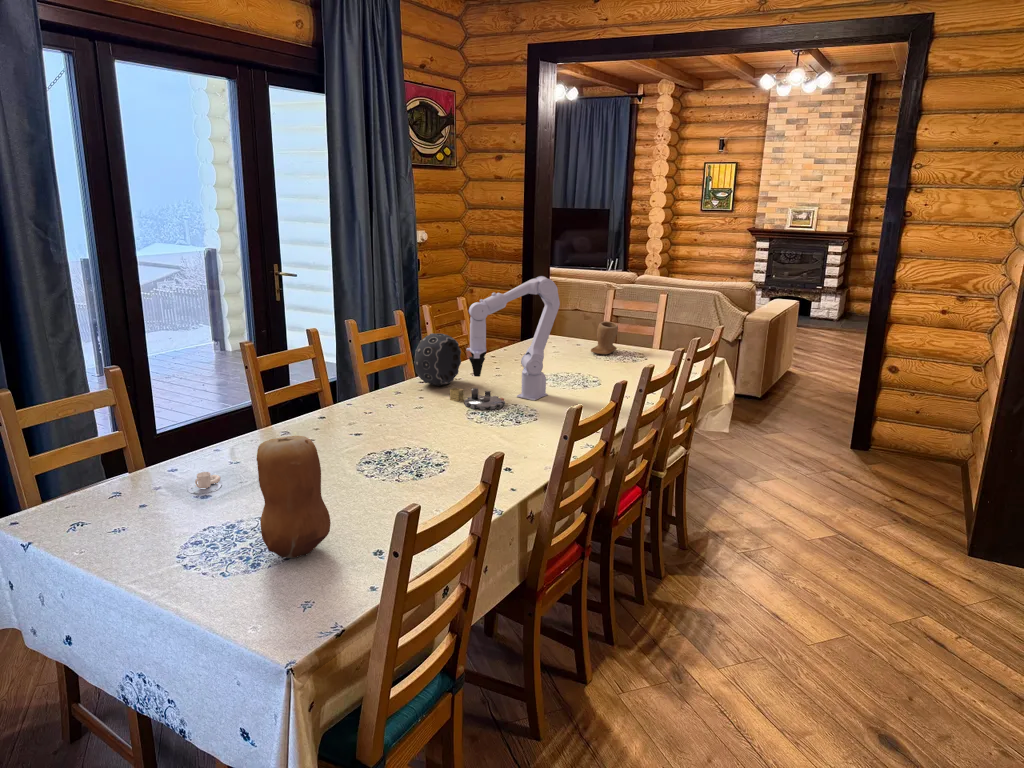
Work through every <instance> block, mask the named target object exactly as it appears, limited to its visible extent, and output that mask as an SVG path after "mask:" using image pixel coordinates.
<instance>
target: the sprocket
mask: <svg viewBox="0 0 1024 768" xmlns="http://www.w3.org/2000/svg"><path fill="white" fill-rule="evenodd" d="M470 393H471V395H470V396H468V397H467V398H464V400H463V401H464V406H465V407H470V409H473V410H475V409H479V410H482V411H485V410H495V409H496V408H499V409H501V408H503V406H506V400H505V398H504V397H499V396H498V395H491V396H489V395H485V394H484V395H480V394H479V388H478V387H472V388H471V392H470Z"/></svg>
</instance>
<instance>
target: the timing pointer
mask: <svg viewBox="0 0 1024 768" xmlns="http://www.w3.org/2000/svg"><path fill="white" fill-rule="evenodd" d="M491 394H492V393H491V390H485V391H484V396H485V395H489V396H492V395H491Z"/></svg>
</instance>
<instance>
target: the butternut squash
mask: <svg viewBox="0 0 1024 768" xmlns="http://www.w3.org/2000/svg"><path fill="white" fill-rule="evenodd" d="M256 452H257V453H256V462H257V463H256V464H257V475H258V481H259V482H258V483H259V488H260V491H261V494H262V496H263V499H264V500H263V501H264V505H263V509H262V512H261V517H260V532H261V538H262V541H263V543H264V544H265V546H266V548H267V551H268V552H270V553H274V554H276V555H277V556H279V557H281V558H283V559H284V558H287V559H296V558H299V557H303V556H304V557H305V556H306V557H307V555H309V554H310V553H311V552H313V551H314V549H316V547H318V546H319V544H321V542H322V541H324V540H325V539H326V538H327V536H328V535H329V534H330V530H331V516H330V513H329V510H328V508H327V506H326V504H325V502H324V500H323V496H322V468H321V462H320V458H319V454H318V452H319V451H318V450H317V447H316V445H315V443H314V442H313V440H311V439H310V438H308V437H307V436H305V435H291V436H289V435H288V436H283V437H277V438H269V439H268V440H265V441H263V442H262V443H260V444H259V445H258V447H257V451H256Z"/></svg>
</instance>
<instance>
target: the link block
mask: <svg viewBox="0 0 1024 768" xmlns="http://www.w3.org/2000/svg"><path fill="white" fill-rule="evenodd" d="M449 400H450V401H453V402H457V403H460V402H462V401H464V400H465V390H464V388H458V387H454V388H450V389H449Z"/></svg>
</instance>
